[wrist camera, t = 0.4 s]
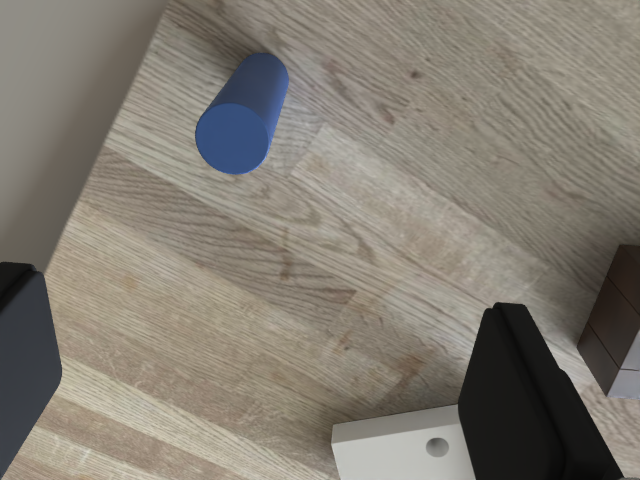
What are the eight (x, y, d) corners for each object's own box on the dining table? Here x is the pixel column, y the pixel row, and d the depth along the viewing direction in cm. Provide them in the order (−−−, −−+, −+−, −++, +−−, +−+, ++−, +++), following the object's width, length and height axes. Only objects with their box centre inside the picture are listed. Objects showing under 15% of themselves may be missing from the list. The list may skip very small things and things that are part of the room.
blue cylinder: (237, 49, 30) (193, 99, 21) (290, 55, 30) (271, 106, 21) (236, 102, 32) (195, 171, 22) (287, 107, 32) (268, 178, 22)
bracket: (488, 392, 44) (513, 450, 36) (501, 466, 45) (528, 536, 38) (333, 418, 45) (327, 478, 38) (351, 488, 47) (349, 559, 40)
